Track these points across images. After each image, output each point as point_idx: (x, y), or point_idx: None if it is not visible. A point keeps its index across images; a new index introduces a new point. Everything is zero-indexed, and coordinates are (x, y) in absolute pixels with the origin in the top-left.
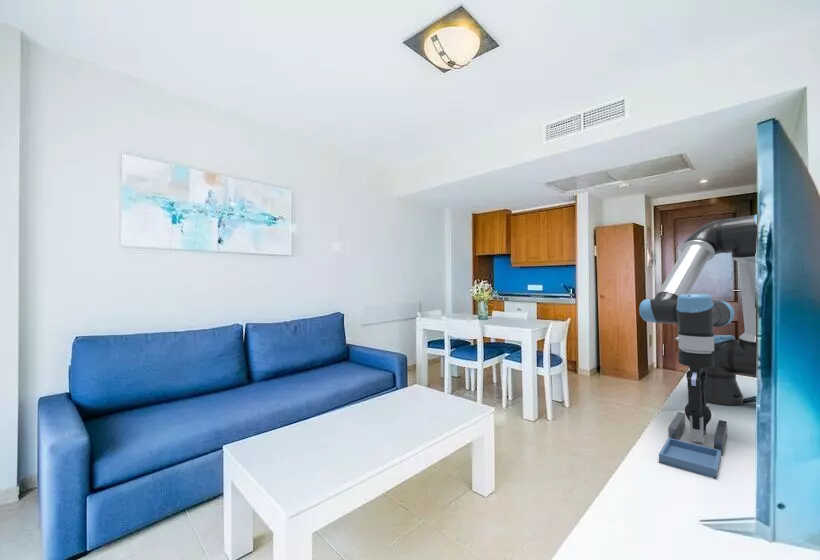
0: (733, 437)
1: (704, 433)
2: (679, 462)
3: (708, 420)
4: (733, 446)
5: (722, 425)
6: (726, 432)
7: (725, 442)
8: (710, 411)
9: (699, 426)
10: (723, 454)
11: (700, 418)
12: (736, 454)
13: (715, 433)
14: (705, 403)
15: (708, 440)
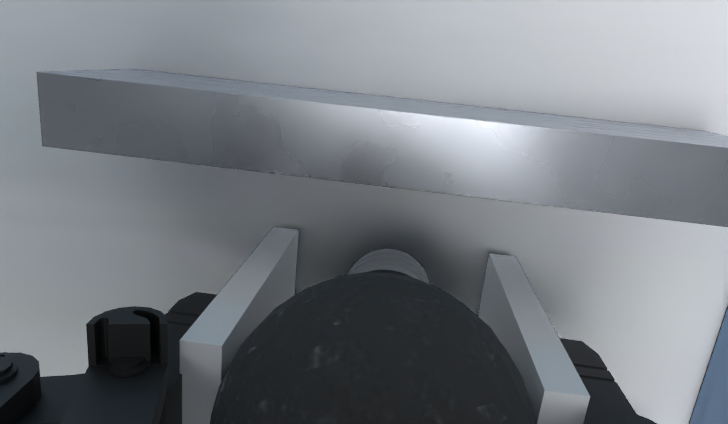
0: (129, 23)
1: (294, 245)
2: None
3: (456, 299)
4: (385, 39)
5: (245, 126)
6: (205, 81)
7: (391, 98)
8: (384, 329)
9: (596, 364)
10: (670, 127)
11: (578, 407)
12: (588, 30)
13: (613, 210)
14: (15, 384)
15: (361, 211)
